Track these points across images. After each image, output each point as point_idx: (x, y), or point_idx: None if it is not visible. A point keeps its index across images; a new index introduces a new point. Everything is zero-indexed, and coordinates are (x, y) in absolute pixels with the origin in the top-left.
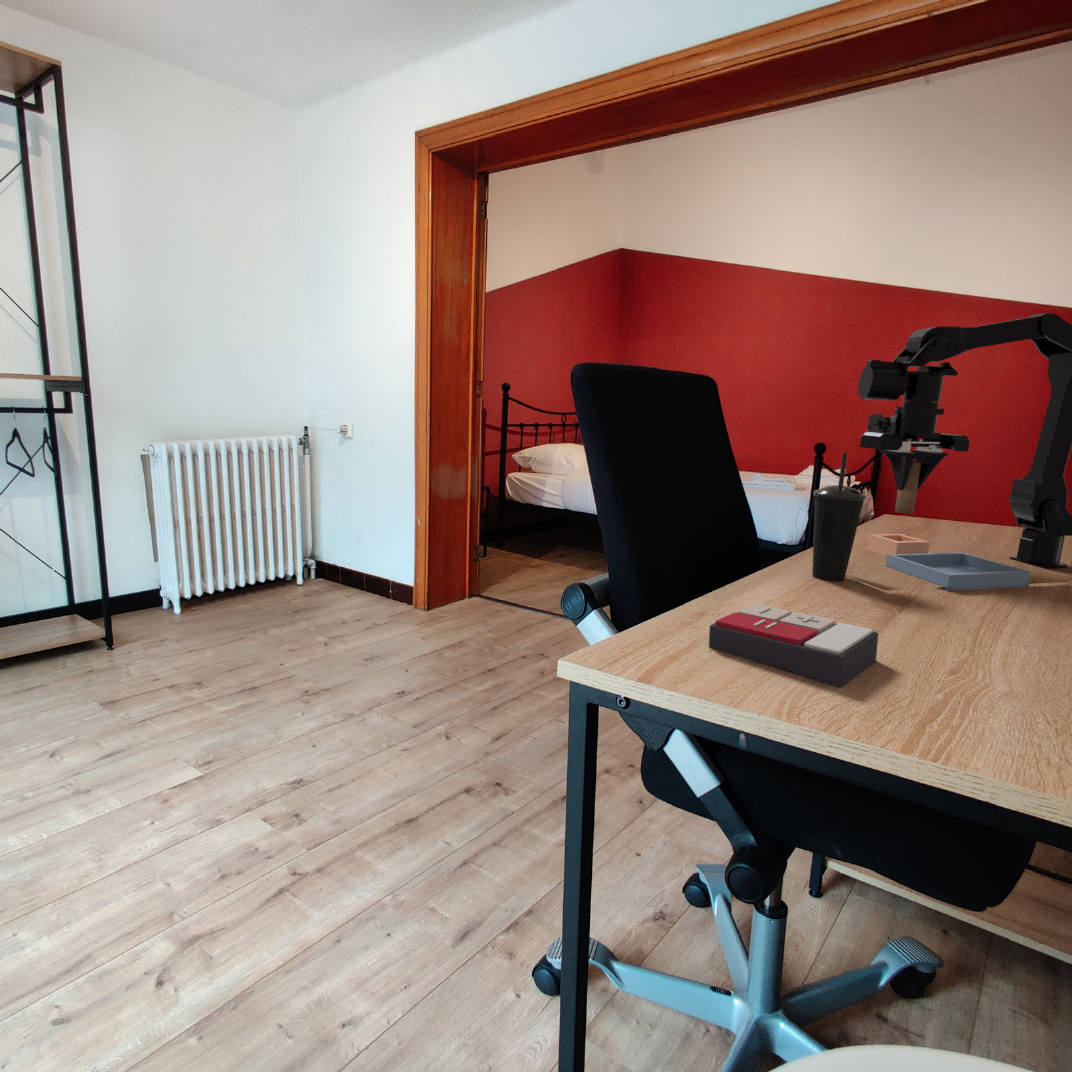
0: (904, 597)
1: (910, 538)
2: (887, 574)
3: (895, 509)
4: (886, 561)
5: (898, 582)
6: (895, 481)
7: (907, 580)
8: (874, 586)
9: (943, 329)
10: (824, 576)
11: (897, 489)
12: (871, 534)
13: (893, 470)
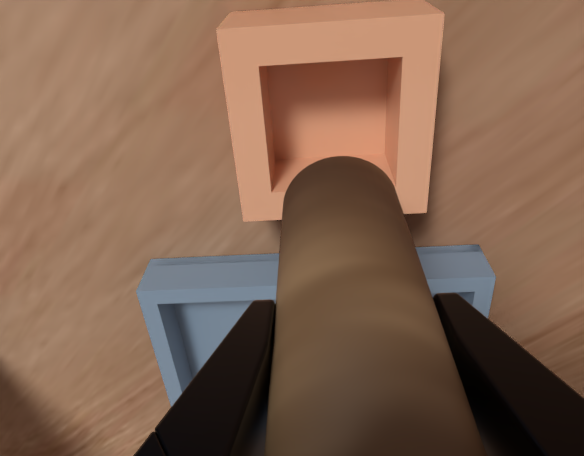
0: (59, 445)
1: (399, 133)
2: (121, 308)
3: (286, 194)
4: (143, 276)
5: (110, 368)
6: (218, 349)
7: (148, 357)
8: (23, 388)
9: None
10: None
11: (256, 302)
12: (228, 32)
13: (150, 449)
